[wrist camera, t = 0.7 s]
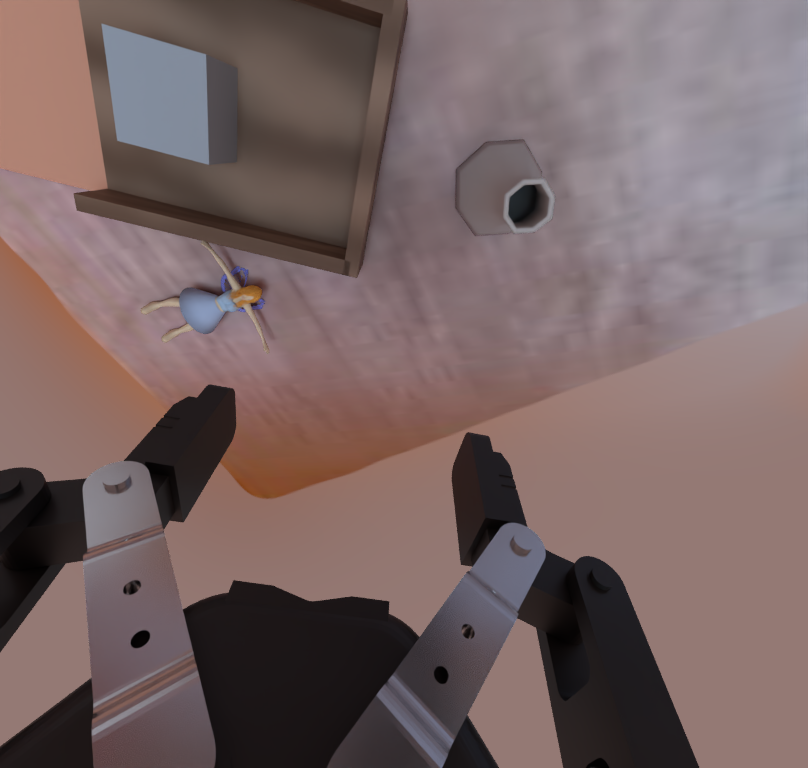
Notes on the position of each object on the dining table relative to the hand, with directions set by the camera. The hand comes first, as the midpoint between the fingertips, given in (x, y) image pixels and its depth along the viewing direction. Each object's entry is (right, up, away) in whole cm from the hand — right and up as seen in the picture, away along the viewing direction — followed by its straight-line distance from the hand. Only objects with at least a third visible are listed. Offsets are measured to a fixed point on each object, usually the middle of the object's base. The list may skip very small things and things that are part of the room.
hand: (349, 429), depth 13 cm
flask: (+10, +18, +19) cm, 27 cm away
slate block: (-14, +22, +15) cm, 31 cm away
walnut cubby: (-11, +22, +16) cm, 29 cm away
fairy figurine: (-17, +10, +24) cm, 31 cm away
